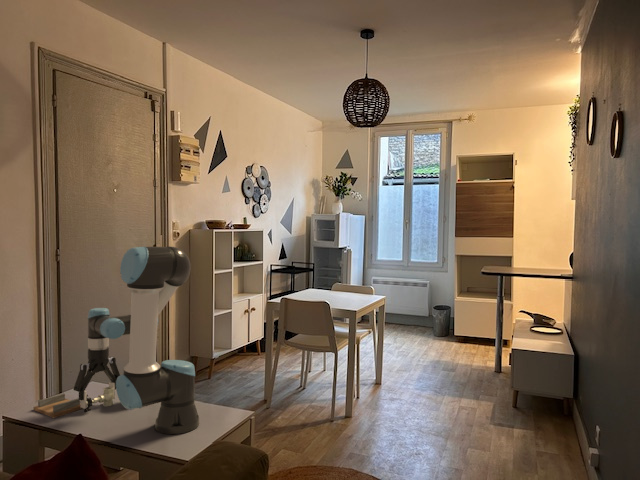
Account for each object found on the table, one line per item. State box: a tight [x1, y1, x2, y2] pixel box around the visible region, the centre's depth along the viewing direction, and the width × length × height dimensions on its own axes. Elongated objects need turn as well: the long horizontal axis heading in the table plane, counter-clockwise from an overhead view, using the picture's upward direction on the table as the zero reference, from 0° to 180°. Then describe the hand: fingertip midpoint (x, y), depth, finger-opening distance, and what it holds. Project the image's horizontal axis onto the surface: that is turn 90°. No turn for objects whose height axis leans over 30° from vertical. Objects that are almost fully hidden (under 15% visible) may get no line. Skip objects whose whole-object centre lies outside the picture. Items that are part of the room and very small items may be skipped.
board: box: [33, 392, 82, 419], centre depth 188 cm, size 14×12×4 cm
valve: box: [80, 386, 114, 413], centre depth 191 cm, size 7×7×12 cm
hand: (97, 403), depth 191 cm, fingers closed on valve, 11 cm apart
